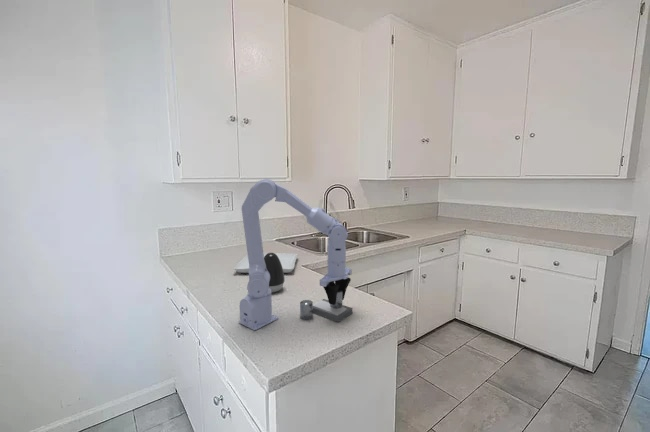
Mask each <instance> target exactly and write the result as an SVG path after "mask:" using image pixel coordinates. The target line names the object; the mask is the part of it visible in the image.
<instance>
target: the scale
mask: <svg viewBox="0 0 650 432" xmlns="http://www.w3.org/2000/svg"><path fill="white" fill-rule="evenodd" d="M352 314H353V307H350V306H349V305H348V306H347V305H345V304H342V307H341V308H338V309H334V308H331V307H330V304H329V301H328V299H325V298H322V299H321V300H319V301H317V302H315V303H313V315H317V316H320V317H323V318H326V319H328V320H331V321H333V322H336V323H339V322H341V321H343V320H344V319H345V318H347V317H349V316H350V315H352Z"/></svg>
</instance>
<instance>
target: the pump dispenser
mask: <svg viewBox="0 0 650 432" xmlns="http://www.w3.org/2000/svg"><path fill="white" fill-rule="evenodd" d="M267 253H268V254H266V255H265V256H264V260H265V264H266V268H267V271H268V272H269V273H270V281H269V288H270V289H271V294H272V293H273V294H274V293H277V292H278V291H280V290H281V289H283V286H284V282H285V279H286V278H285V273H284V272H283V267H282V264H281V262H280V260H279V258H278V256H277V255H276V254H275V253H276V252H275V253H274V252H267Z"/></svg>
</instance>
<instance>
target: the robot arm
mask: <svg viewBox="0 0 650 432" xmlns="http://www.w3.org/2000/svg"><path fill="white" fill-rule="evenodd" d="M274 198H275V200H274V201H275V202H279V203H286V204H287V205H289V206H290V207H292V208H293V209H294V210H296V211H298V212H299V213H300V214H302V215H304V216H305V217H306V222H307V224H309V225H310V226H312V227H313V228H314V229H316V230H317V231H318V232H320V233H321V234H323V235H326V236H327V237H328V239H327V272H326V273H325V275H324V276H323V277H321V278H320V279H319V286H320V287H322V288H323V290H324V291H325V293H326V296H327V300H328V301H329V304H332V305H335V304H336V297H337V291H338V289H341V290H342V301H344V299H345V296H346V292H347V289H348V286H349V284H350V283H351V281H352V279H351V277H349V276H352V274H353V273H352V271H353V270H352V268H348V267H346V264H347V263H346V259H347V256H346V254H347V251H346V250H347V247H346V244H347V243H346V241H347V238H348V235H349V233H348V230H347V228H346V227H345V226H344V225H343V224H342V223H341V221H338V219H337V218H336V217H332V216H330V214H329V213H327V212H326V209H324V208H323V207H322V208H320V207H318V206H317V207H312V206H310V205H309V204H307V203H306V202H305V201H303V200H302V198H301V199H300V198H299V197H298V196H297V195H296V194H294V193H293V192H292V191H291V190H289V189H288V188H286V187H285V186H283V185H281V184H279V183H276V182H274V181H273V180H272V179H270V178H264V179H261V180H259V181H257V182H256V183H255V184H254V185H252V187H251V188H250V189H249V191H248V194H247V195H246V197H245V200H244V201H243V203H242V205H241V213H242V222H243V231H244V237H245V245H246V251H247V252H246V254H248V261H249V273H248V282H247V286H246V289H247V295H246V296H245V297H243V298H242V299H241V300H239V321H238V323H239V324H241V325H243V326H245V327H247V328H248V329H250V330H253V331H256V330H259V329H261V328H263V327H265V326H267V325H269V324H270V323H273V322H274V321H277V320H278V319H279V317H278V316H276V315H273V307H272V306H273V305H272V302H273V301H272V300H273V299H272V293H271V289H270V288H269V281H270V273H269V272H268V271H267V268H266V264H265V260H264V253H265V252H264V246H263V239H262V229H261V222H260V214H259V212H260V210H261V209H262V208H263V207H264V205H266V204H268V203H269V202H270V201H272V200H273V199H274Z"/></svg>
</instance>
